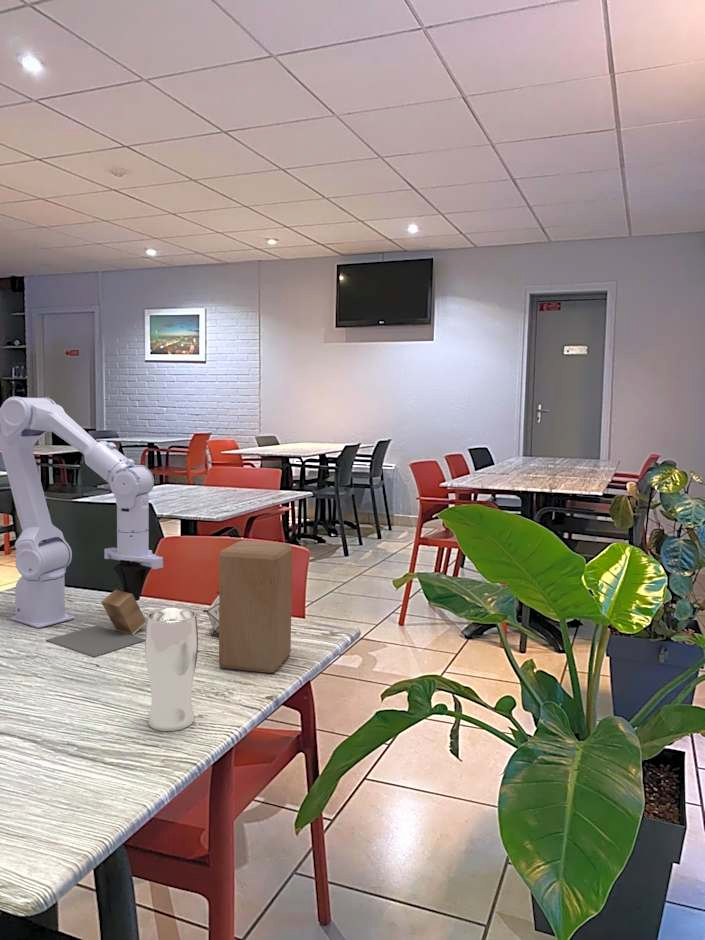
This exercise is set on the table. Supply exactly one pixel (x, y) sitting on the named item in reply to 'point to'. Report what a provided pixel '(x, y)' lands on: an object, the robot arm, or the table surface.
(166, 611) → the beer glass
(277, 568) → the block
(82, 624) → the table surface
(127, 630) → the walnut block
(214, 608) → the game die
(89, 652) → the mat
